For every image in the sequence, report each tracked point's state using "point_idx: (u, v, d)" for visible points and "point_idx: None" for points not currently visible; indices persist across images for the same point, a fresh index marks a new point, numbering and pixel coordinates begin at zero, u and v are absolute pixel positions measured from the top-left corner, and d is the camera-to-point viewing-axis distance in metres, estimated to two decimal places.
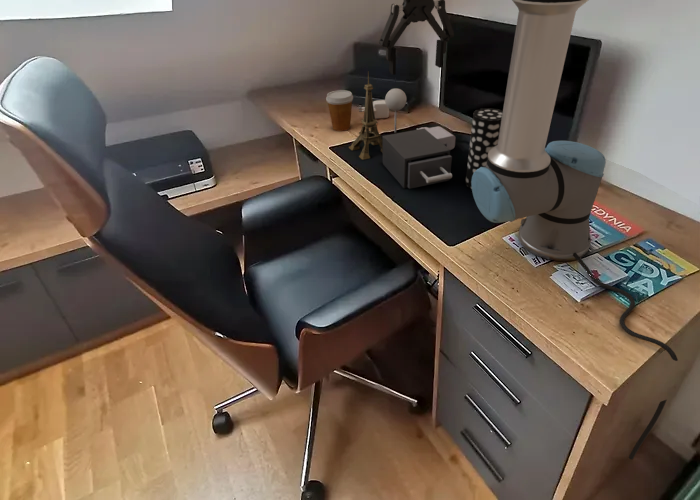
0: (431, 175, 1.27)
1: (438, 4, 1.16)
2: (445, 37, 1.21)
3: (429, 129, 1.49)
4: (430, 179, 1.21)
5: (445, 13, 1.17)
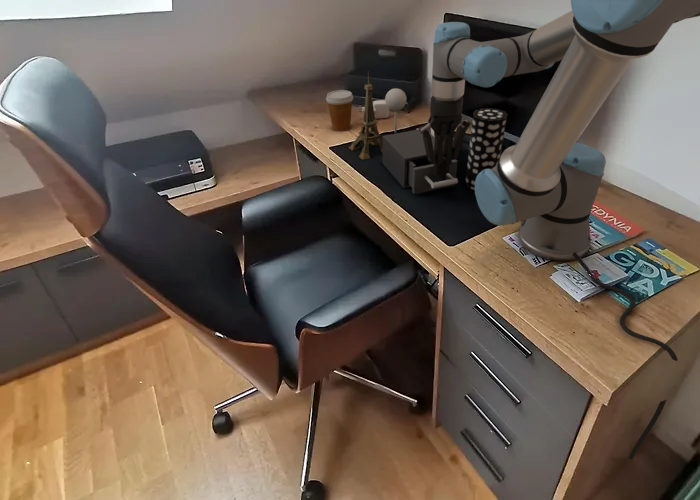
0: None
1: (463, 123, 1.13)
2: (449, 159, 1.17)
3: None
4: (435, 184, 1.18)
5: (463, 135, 1.14)
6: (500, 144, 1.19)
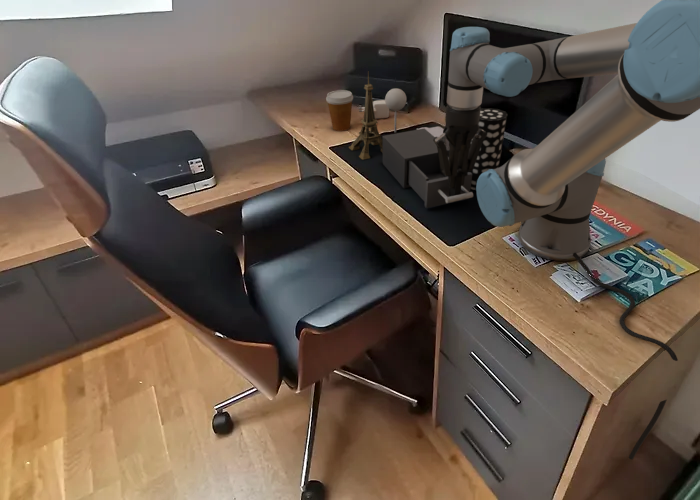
0: None
1: (479, 133, 1.07)
2: (464, 171, 1.11)
3: (429, 129, 1.49)
4: (450, 199, 1.12)
5: (479, 145, 1.08)
6: (500, 144, 1.19)
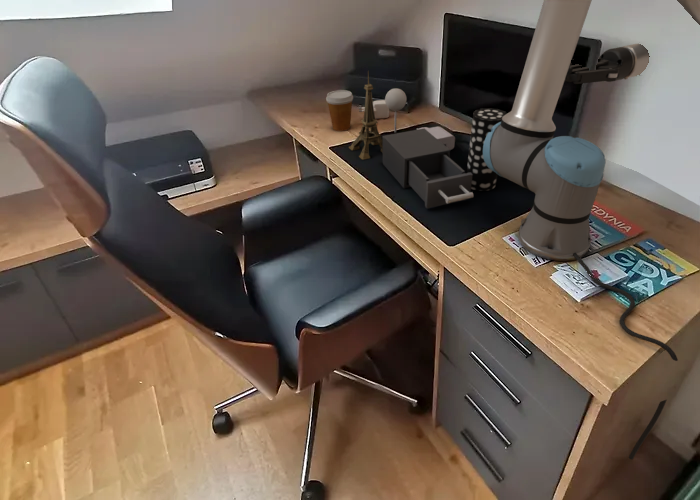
0: (450, 194, 1.18)
1: None
2: (571, 70, 1.07)
3: (429, 129, 1.49)
4: (450, 199, 1.12)
5: (603, 70, 1.05)
6: None
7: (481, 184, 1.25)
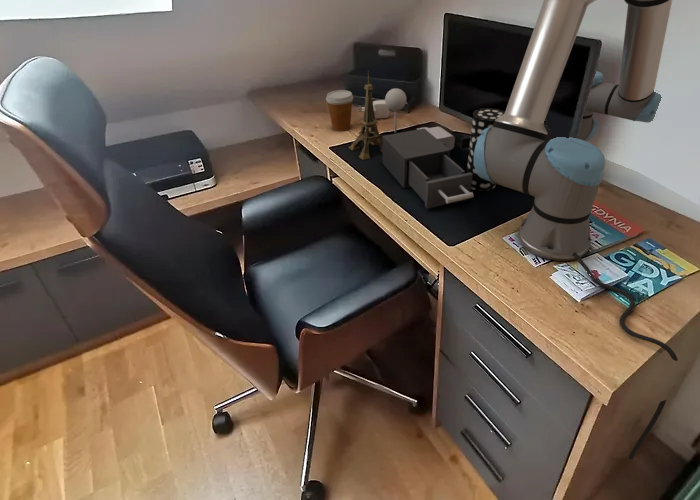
0: (450, 194, 1.18)
1: None
2: None
3: (429, 129, 1.49)
4: (450, 199, 1.12)
5: None
6: None
7: (481, 184, 1.25)
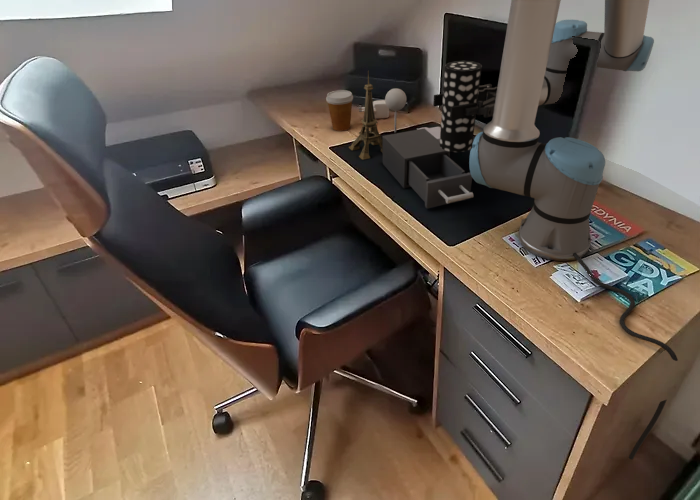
0: (450, 194, 1.18)
1: None
2: None
3: (428, 129, 1.49)
4: (450, 199, 1.12)
5: None
6: (475, 99, 1.10)
7: (455, 145, 1.16)
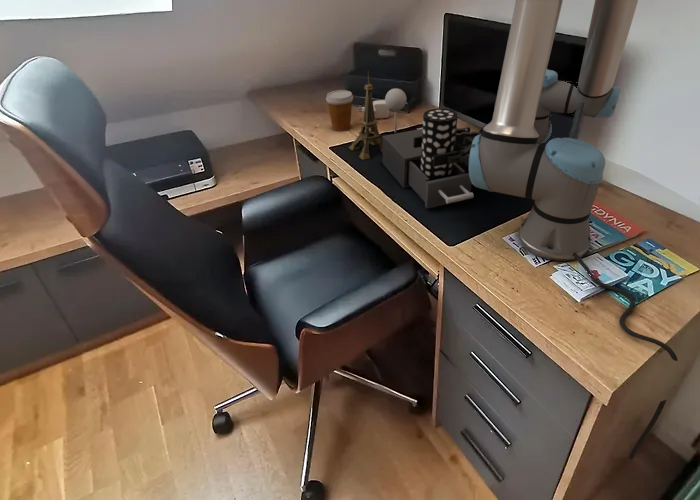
0: (450, 194, 1.18)
1: None
2: None
3: None
4: (450, 199, 1.12)
5: None
6: (451, 145, 1.15)
7: None
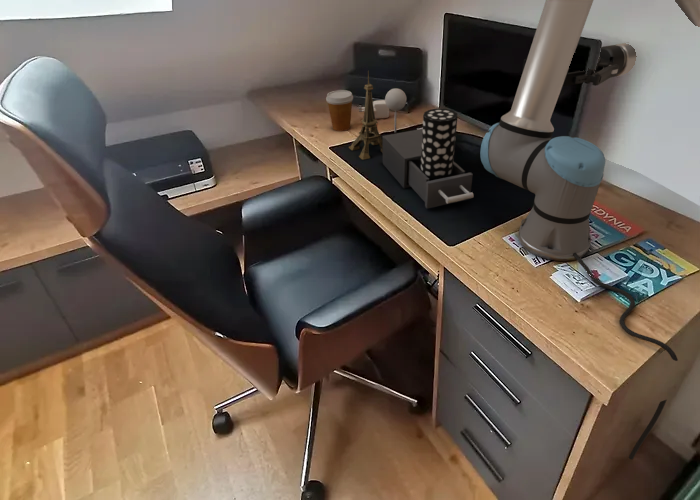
0: (450, 194, 1.18)
1: None
2: None
3: None
4: (450, 199, 1.12)
5: (609, 67, 1.07)
6: (451, 145, 1.15)
7: None
